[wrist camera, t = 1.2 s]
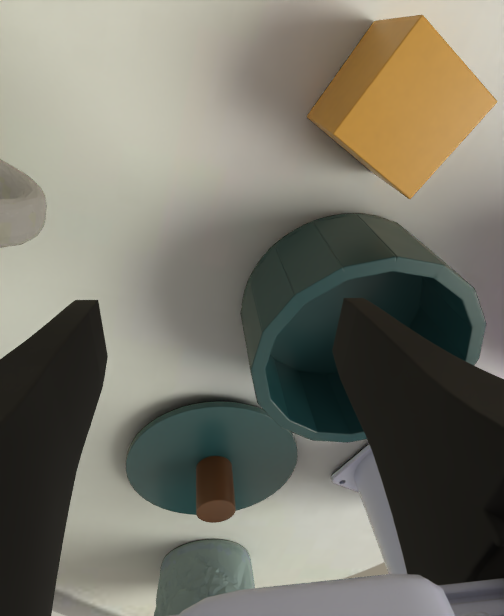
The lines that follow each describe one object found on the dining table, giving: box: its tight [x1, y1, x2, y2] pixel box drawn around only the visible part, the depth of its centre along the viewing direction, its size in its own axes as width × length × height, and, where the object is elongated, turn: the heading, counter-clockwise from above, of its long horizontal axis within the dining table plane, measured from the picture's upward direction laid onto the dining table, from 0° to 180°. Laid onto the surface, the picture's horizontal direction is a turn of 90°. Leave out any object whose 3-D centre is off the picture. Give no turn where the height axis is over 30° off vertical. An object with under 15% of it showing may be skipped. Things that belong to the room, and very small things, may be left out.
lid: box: [126, 401, 297, 522], centre depth 28 cm, size 12×12×4 cm
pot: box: [241, 214, 486, 443], centre depth 22 cm, size 11×11×5 cm
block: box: [307, 15, 497, 199], centre depth 16 cm, size 4×4×4 cm
